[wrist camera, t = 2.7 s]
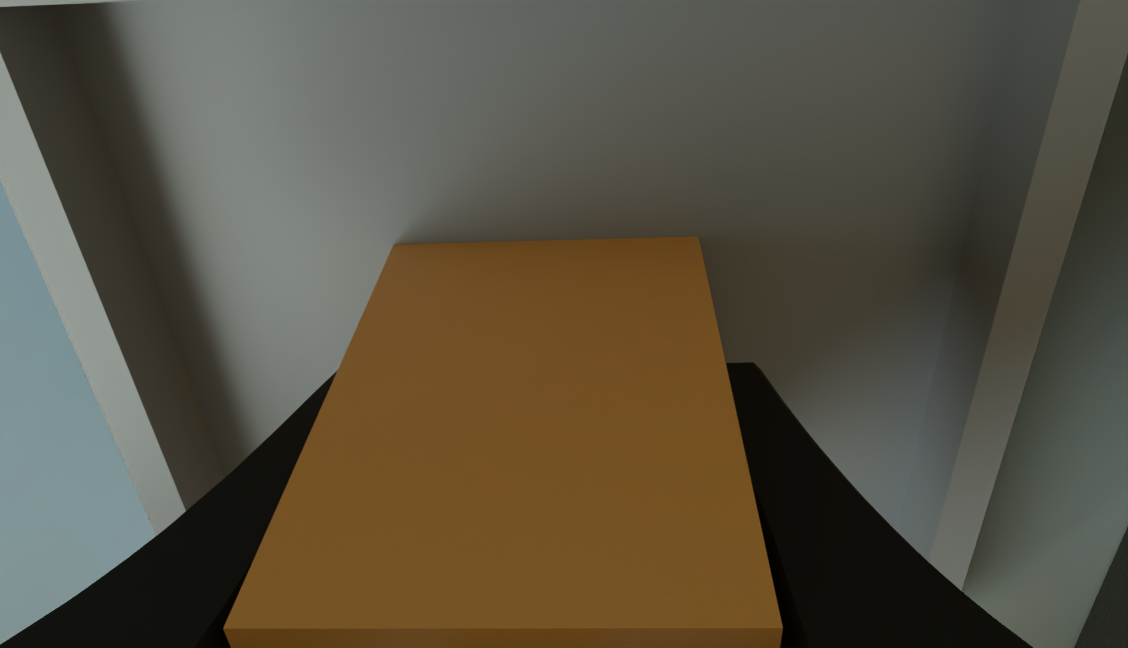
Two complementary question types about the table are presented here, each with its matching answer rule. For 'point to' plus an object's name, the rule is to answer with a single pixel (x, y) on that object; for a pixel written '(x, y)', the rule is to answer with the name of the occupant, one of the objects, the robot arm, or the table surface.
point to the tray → (564, 199)
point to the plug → (522, 464)
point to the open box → (1110, 607)
